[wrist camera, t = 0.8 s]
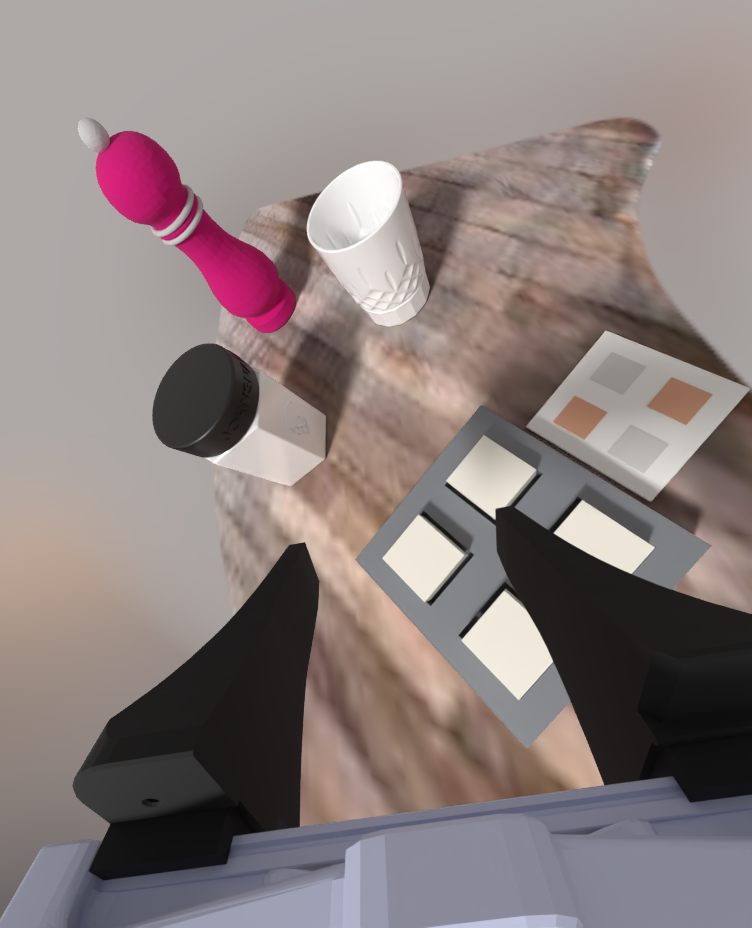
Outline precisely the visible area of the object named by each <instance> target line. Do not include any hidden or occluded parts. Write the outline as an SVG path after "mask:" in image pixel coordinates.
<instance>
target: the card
mask: <svg viewBox="0 0 752 928" xmlns="http://www.w3.org/2000/svg"><path fill="white" fill-rule="evenodd" d="M750 389H751V388H748V387H746V386H743V385H741V384H738V383H736V382H733V381H731V380H728V379H726V378H723V377H721V376H718V375H716V374H713V373H711V372H708V371H706V370H703V369H701V368H698V367H696V366H693V365H691V364H688V363H686V362H683V361H681V360H678V359H676V358H673V357H671V356H668V355H666V354H663V353H661V352H658V351H656V350H653V349H651V348H648V347H646V346H643V345H641V344H638V343H636V342H633V341H631V340H628V339H626V338H623V337H621V336H618V335H616V334H613V333H611V332H608V331H605V332H604V333H603V334H602V336H601V337H600V338H599V339H598V341H597V342H596V343H595V344H594V345H593V347H592V348H591V349H590V350H589V351H588V353H587V354H586V355H585V356H584V357H583V359H582V360H581V361H580V362H579V363H578V365H577V366H576V367H575V368H574V369H573V371H572V372H571V373H570V374H569V375H568V377H567V378H566V379H565V380H564V381H563V383H562V384H561V385H560V386H559V387H558V389H557V390H556V391H555V392H554V393H553V395H552V396H551V397H550V398H549V399H548V401H547V402H546V403H545V404H544V405H543V407H542V408H541V409H540V410H539V411H538V413H537V414H536V415H535V416H534V417H533V419H532V420H531V421H530V422H529V423H528V425H527V426H526V428H527V429H529V430H530V431H532V432H534V433H535V434H537V435H539V436H540V437H542V438H543V439H545V440H547V441H548V442H550V443H552V444H553V445H555V446H557V447H558V448H560V449H562V450H563V451H565V452H567V453H568V454H570V455H572V456H573V457H575V458H577V459H578V460H580V461H582V462H583V463H585V464H587V465H588V466H590V467H592V468H593V469H595V470H597V471H598V472H600V473H602V474H603V475H605V476H606V477H608V478H610V479H611V480H613V481H615V482H616V483H618V484H620V485H621V486H623V487H625V488H626V489H628V490H630V491H631V492H633V493H635V494H636V495H638V496H640V497H641V498H643V499H645V500H646V501H648V502H651V501H652V500H653V499H654V498H655V497H656V496H657V494H658V493H659V492H660V491H661V490H662V489H663V488H664V487H665V485H666V484H667V483H668V482H669V481H670V480H671V479H672V477H673V476H674V475H675V474H676V473H677V472H678V471H679V470H680V468H681V467H682V466H683V465H684V464H685V463H686V462H687V460H688V459H689V458H690V457H691V456H692V455H693V454H694V452H695V451H696V450H697V449H698V448H699V447H700V446H701V445H702V443H703V442H704V441H705V440H706V439H707V438H708V437H709V435H710V434H711V433H712V432H713V431H714V430H715V429H716V428H717V426H718V425H719V424H720V423H721V422H722V421H723V420H724V418H725V417H726V416H727V415H728V414H729V413H730V412H731V411H732V409H733V408H734V407H735V406H736V405H737V404H738V403H739V401H740V400H741V399H742V398H743V397H744V396H745V395H746V394H747V392H748V391H749V390H750Z"/></svg>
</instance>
